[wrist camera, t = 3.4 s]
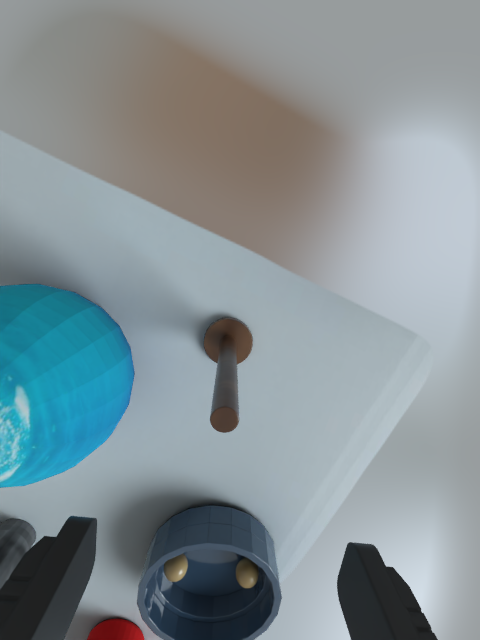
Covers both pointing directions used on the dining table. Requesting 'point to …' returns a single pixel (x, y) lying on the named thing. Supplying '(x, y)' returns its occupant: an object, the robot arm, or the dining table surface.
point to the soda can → (116, 631)
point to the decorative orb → (57, 381)
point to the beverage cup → (13, 545)
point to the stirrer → (226, 368)
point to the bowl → (210, 577)
